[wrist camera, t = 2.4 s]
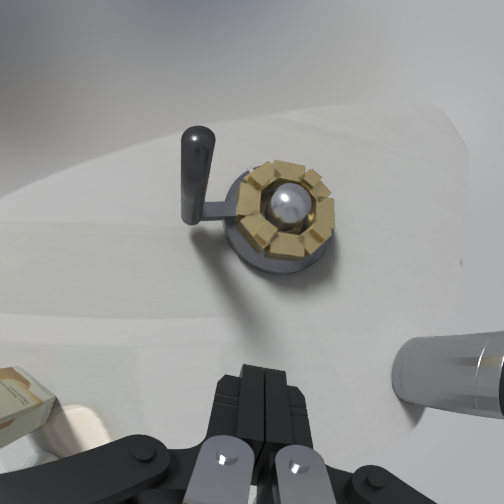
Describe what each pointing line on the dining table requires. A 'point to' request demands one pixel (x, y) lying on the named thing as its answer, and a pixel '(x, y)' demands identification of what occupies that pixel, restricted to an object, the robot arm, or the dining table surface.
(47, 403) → the skincare box
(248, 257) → the flange
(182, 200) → the lever crank
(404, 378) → the robot arm
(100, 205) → the dining table surface
